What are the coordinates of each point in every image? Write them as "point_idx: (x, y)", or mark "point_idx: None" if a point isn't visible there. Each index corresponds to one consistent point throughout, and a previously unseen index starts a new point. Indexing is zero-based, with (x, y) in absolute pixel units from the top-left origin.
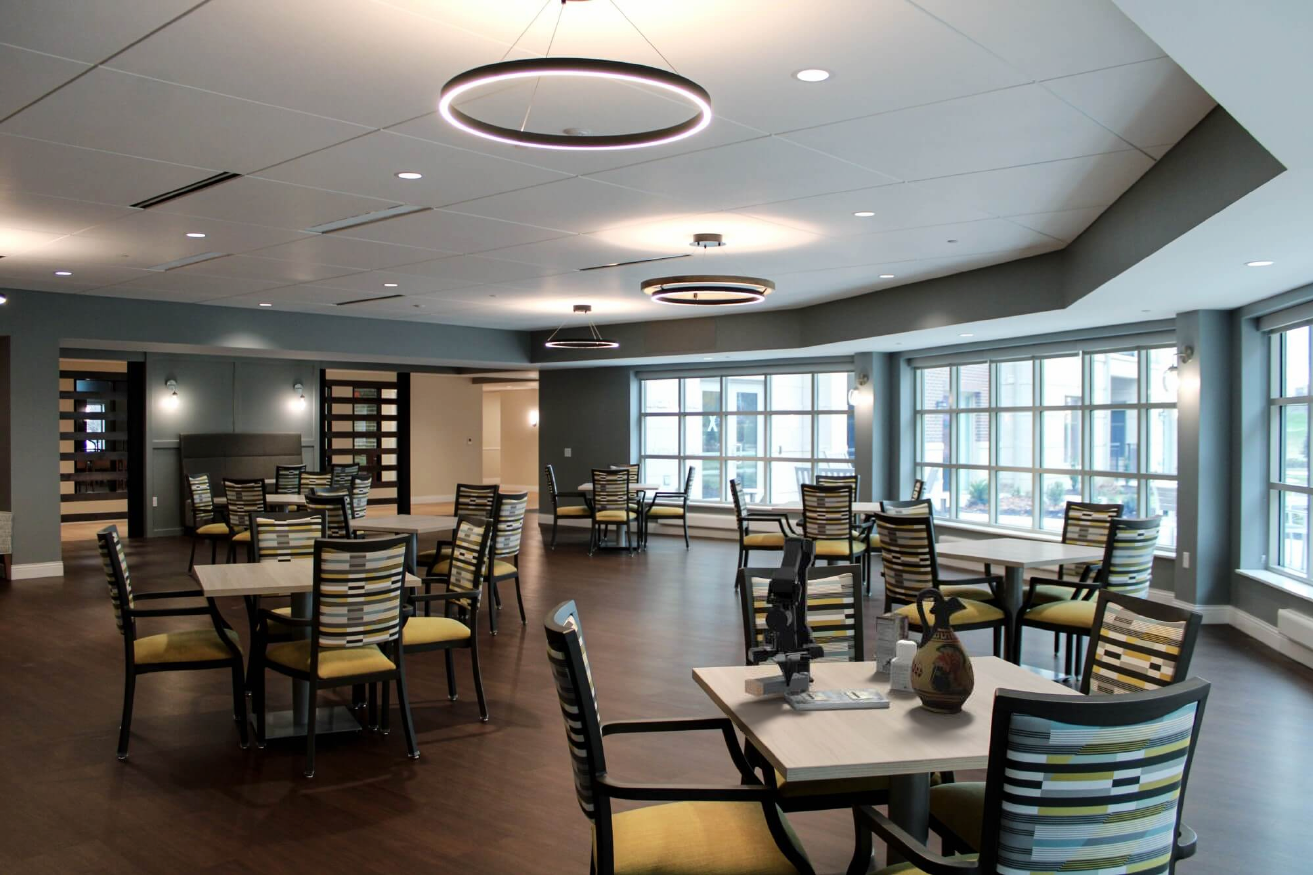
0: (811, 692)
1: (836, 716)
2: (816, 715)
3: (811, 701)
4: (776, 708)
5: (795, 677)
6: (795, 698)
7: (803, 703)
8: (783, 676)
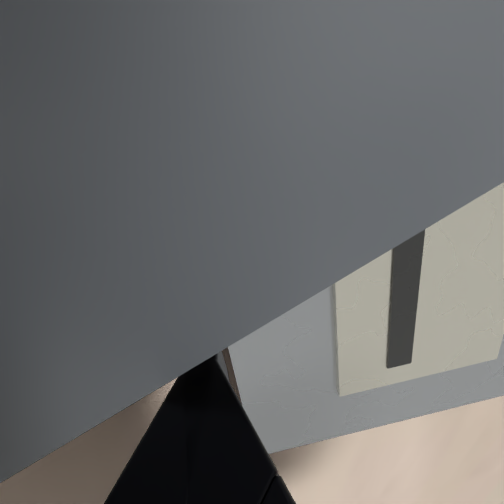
0: None
1: (427, 459)
2: (338, 466)
3: (369, 394)
4: (115, 414)
5: (386, 187)
6: (265, 349)
7: (302, 437)
8: (137, 456)
